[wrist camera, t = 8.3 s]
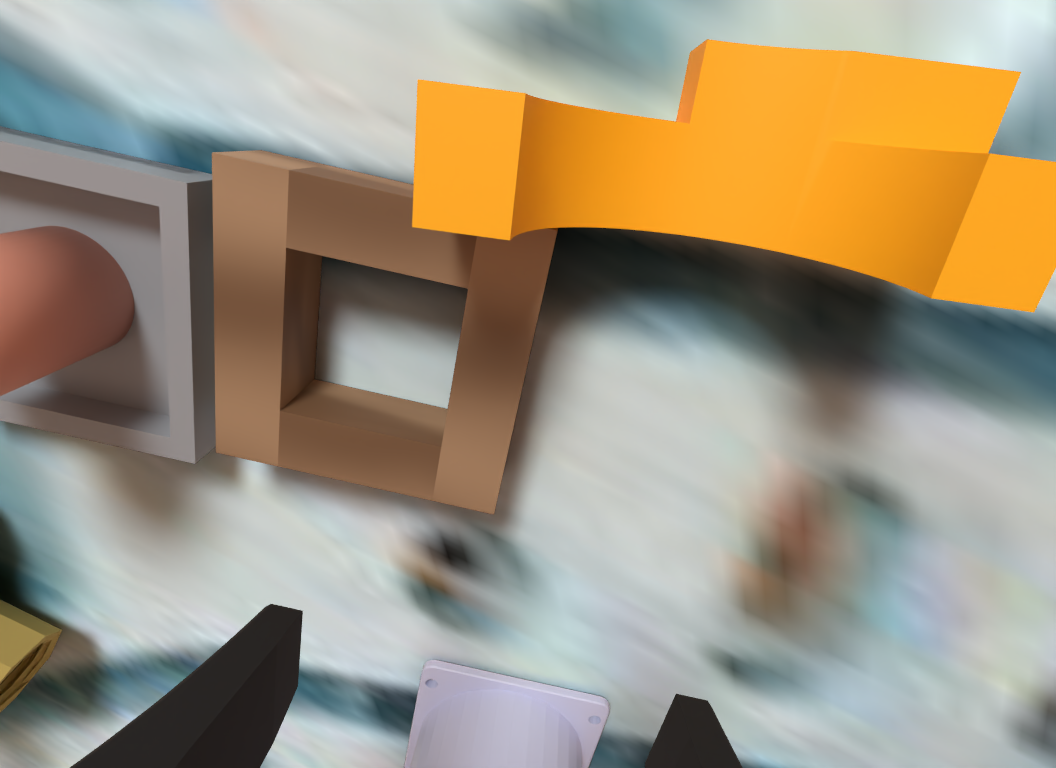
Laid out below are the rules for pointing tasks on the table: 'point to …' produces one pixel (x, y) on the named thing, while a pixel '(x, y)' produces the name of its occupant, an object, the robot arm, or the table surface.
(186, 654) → the table surface
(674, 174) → the pipe clamp
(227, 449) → the square frame
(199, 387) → the tray
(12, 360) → the plug
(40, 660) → the ball valve
